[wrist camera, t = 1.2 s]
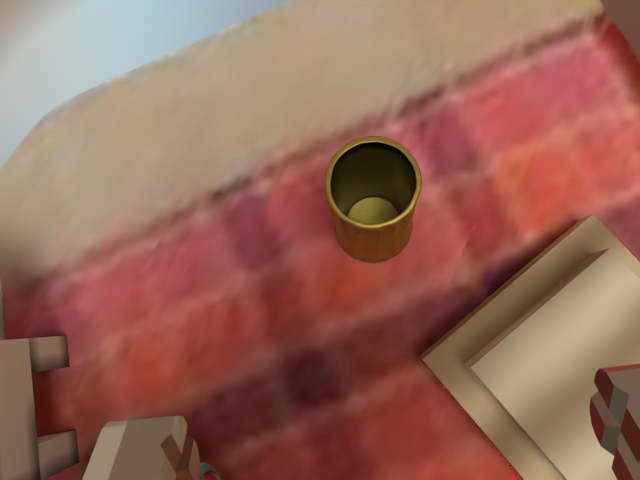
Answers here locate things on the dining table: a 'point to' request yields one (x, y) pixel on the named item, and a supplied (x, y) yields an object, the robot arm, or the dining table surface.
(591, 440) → the pedestal
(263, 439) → the dining table surface
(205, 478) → the lunch box
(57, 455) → the toy llama
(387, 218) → the vase
